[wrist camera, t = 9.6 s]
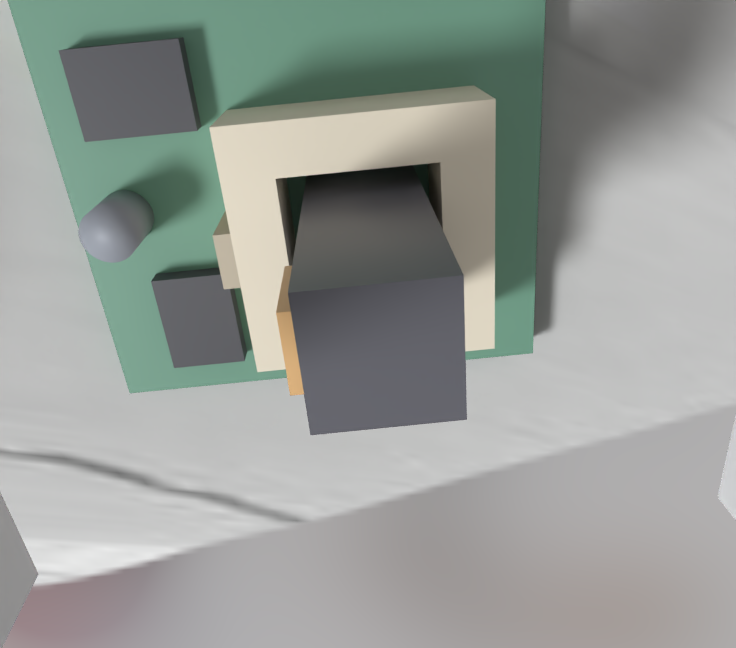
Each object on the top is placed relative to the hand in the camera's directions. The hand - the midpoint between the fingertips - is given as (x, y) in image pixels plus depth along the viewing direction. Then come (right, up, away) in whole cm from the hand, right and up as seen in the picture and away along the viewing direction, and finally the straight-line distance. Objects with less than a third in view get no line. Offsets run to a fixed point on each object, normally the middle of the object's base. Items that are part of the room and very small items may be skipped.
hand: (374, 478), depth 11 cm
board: (-2, +8, +14) cm, 17 cm away
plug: (0, +7, +14) cm, 15 cm away
